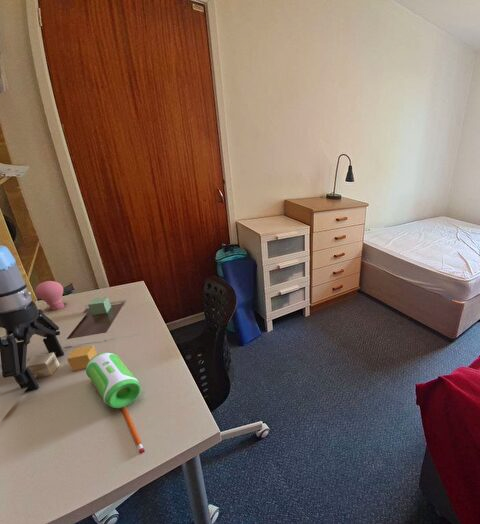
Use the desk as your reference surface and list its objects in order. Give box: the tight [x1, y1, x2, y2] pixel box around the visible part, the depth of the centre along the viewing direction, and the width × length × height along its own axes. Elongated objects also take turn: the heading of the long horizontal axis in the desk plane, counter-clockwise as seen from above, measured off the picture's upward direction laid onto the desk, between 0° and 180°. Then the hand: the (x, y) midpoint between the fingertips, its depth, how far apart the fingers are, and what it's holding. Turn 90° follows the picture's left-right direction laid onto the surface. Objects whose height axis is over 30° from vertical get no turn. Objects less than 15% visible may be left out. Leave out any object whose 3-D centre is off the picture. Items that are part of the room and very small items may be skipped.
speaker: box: [85, 351, 141, 409], centre depth 72 cm, size 18×7×8 cm, turn 54°
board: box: [66, 302, 125, 340], centre depth 100 cm, size 12×20×1 cm, turn 22°
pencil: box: [120, 406, 146, 455], centre depth 65 cm, size 1×19×1 cm, turn 48°
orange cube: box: [66, 344, 98, 372], centre depth 81 cm, size 4×4×4 cm
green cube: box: [87, 296, 112, 315], centre depth 104 cm, size 4×4×4 cm
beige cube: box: [26, 352, 61, 380], centre depth 78 cm, size 4×4×4 cm
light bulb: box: [34, 280, 65, 311], centre depth 104 cm, size 7×7×12 cm
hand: (45, 371), depth 78 cm, fingers open, 13 cm apart
